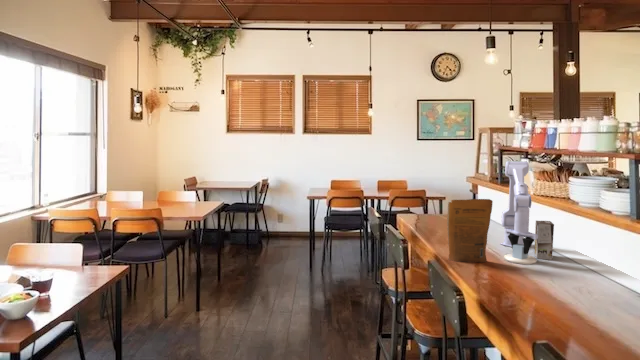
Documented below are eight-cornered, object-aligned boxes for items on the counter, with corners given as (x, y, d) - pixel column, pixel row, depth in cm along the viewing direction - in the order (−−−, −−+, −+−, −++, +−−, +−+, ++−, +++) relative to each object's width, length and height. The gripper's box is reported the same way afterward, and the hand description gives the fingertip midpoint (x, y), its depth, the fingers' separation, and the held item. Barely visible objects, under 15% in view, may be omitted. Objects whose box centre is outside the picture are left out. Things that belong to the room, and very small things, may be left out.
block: (518, 255, 190) (519, 243, 189) (527, 258, 186) (528, 245, 186) (512, 256, 188) (512, 244, 187) (521, 259, 184) (522, 247, 183)
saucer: (515, 254, 196) (516, 252, 196) (542, 261, 185) (542, 258, 185) (497, 258, 189) (498, 256, 189) (524, 266, 178) (524, 263, 178)
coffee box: (552, 260, 187) (554, 224, 186) (536, 258, 189) (538, 223, 188) (549, 254, 196) (550, 220, 194) (533, 253, 198) (535, 219, 196)
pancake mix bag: (492, 264, 181) (494, 200, 178) (446, 262, 184) (448, 199, 182) (488, 259, 188) (490, 197, 185) (444, 258, 191) (446, 197, 188)
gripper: (501, 220, 190) (500, 249, 191) (531, 225, 177) (530, 257, 179) (511, 218, 193) (510, 247, 195) (541, 224, 181) (540, 255, 182)
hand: (520, 252), depth 187 cm, fingers open, 5 cm apart
